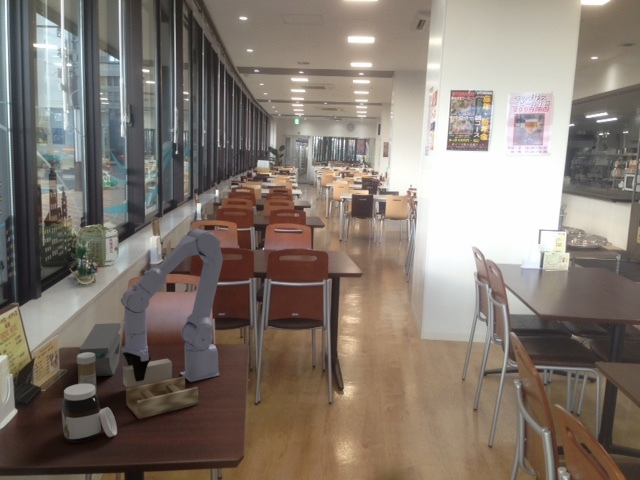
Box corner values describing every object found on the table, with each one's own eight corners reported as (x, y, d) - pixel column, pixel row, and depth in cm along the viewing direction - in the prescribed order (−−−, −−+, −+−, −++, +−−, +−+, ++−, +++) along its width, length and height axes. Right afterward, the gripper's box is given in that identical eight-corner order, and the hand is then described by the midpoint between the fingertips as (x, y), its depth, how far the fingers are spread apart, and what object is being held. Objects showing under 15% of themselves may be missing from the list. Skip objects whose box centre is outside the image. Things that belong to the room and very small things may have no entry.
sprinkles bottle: (82, 399, 159) (79, 351, 157) (99, 399, 159) (97, 351, 157) (76, 406, 154) (74, 357, 152) (94, 406, 155) (92, 357, 153)
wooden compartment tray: (183, 391, 165) (183, 376, 164) (198, 404, 157) (198, 388, 156) (126, 405, 155) (125, 388, 155) (138, 419, 147) (138, 402, 147)
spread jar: (59, 432, 140) (56, 386, 139) (107, 419, 147) (105, 375, 145) (73, 452, 131) (70, 403, 129) (123, 438, 138) (121, 391, 136)
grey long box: (109, 384, 169) (108, 347, 168) (81, 385, 168) (79, 349, 166) (121, 354, 194) (120, 323, 192) (96, 356, 192) (95, 324, 191)
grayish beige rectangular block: (167, 374, 173) (167, 358, 172) (172, 378, 170) (171, 362, 169) (123, 383, 165) (122, 366, 165) (127, 387, 162) (126, 370, 162)
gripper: (113, 327, 167) (115, 373, 169) (129, 341, 156) (131, 389, 158) (138, 323, 171) (139, 368, 173) (155, 336, 160) (157, 384, 162)
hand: (137, 378), depth 166 cm, fingers closed on grayish beige rectangular block, 3 cm apart
